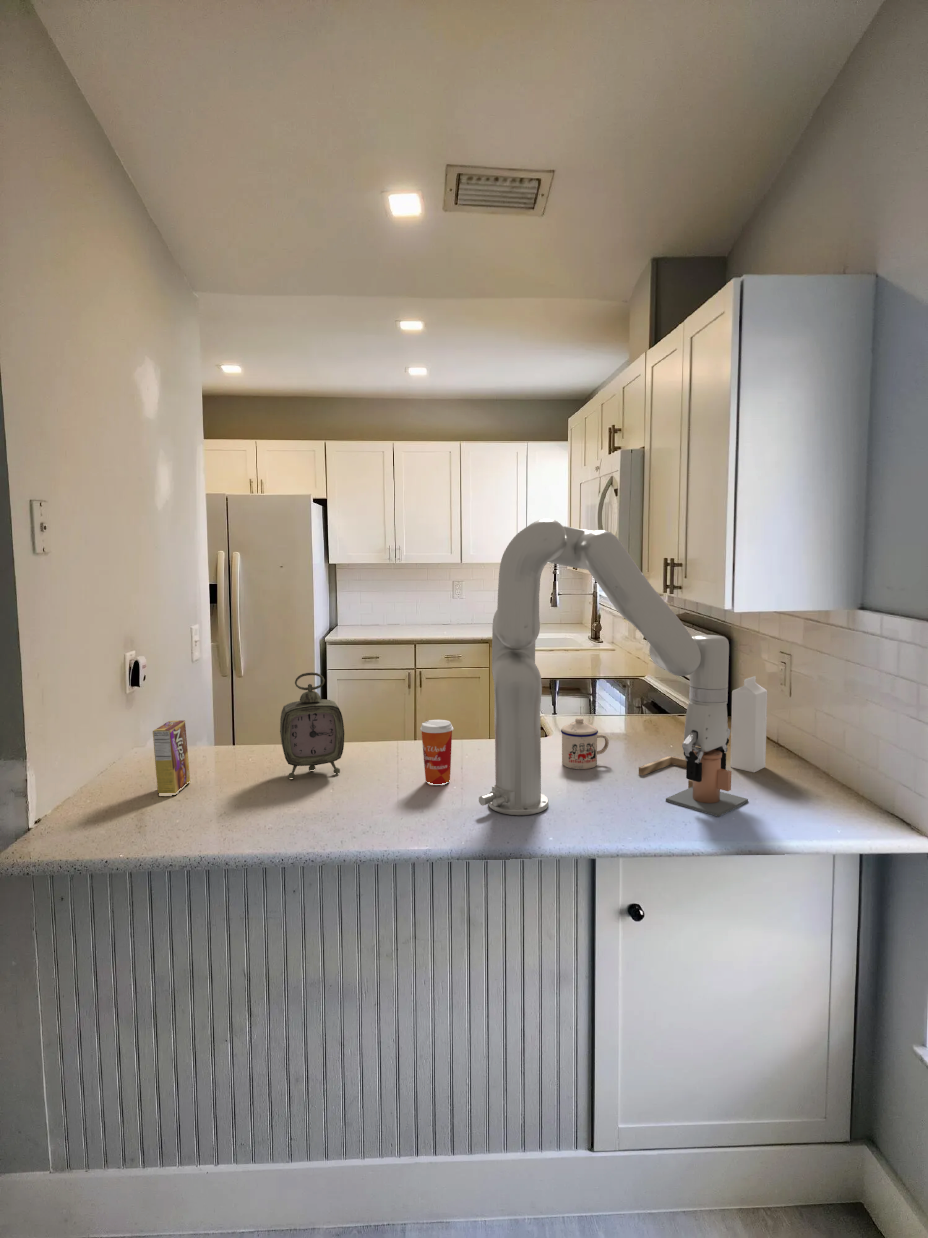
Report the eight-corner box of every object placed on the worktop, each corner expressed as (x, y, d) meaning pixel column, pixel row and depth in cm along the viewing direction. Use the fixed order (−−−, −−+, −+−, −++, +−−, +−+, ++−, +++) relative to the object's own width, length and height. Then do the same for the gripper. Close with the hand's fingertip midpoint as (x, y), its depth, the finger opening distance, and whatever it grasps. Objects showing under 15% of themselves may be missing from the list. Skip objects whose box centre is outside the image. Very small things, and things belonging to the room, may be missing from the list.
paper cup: (415, 784, 159) (413, 725, 158) (432, 775, 166) (430, 717, 165) (444, 789, 156) (443, 728, 154) (460, 779, 162) (459, 721, 161)
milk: (765, 767, 168) (768, 677, 166) (754, 773, 164) (757, 681, 162) (741, 762, 172) (743, 674, 170) (729, 767, 168) (732, 677, 166)
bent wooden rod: (692, 789, 153) (692, 781, 153) (638, 774, 164) (638, 767, 164) (723, 775, 162) (723, 768, 162) (670, 762, 173) (670, 755, 172)
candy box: (172, 783, 163) (168, 720, 162) (190, 783, 163) (187, 719, 162) (156, 797, 154) (151, 730, 153) (175, 796, 154) (171, 729, 153)
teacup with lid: (566, 771, 167) (566, 723, 166) (556, 760, 176) (556, 715, 175) (614, 768, 169) (614, 721, 168) (602, 757, 178) (602, 712, 177)
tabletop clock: (283, 783, 162) (279, 677, 160) (281, 771, 171) (277, 671, 168) (345, 776, 167) (342, 673, 164) (340, 765, 175) (337, 667, 173)
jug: (686, 798, 146) (687, 751, 145) (700, 792, 150) (701, 746, 149) (721, 808, 140) (723, 760, 139) (735, 801, 144) (737, 754, 143)
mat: (718, 816, 137) (718, 814, 137) (665, 801, 146) (665, 798, 146) (747, 801, 145) (748, 799, 145) (695, 787, 154) (695, 785, 154)
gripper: (713, 686, 152) (711, 762, 154) (669, 698, 141) (667, 780, 142) (745, 691, 147) (743, 770, 148) (703, 704, 135) (700, 789, 137)
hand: (706, 775), depth 145 cm, fingers open, 9 cm apart
